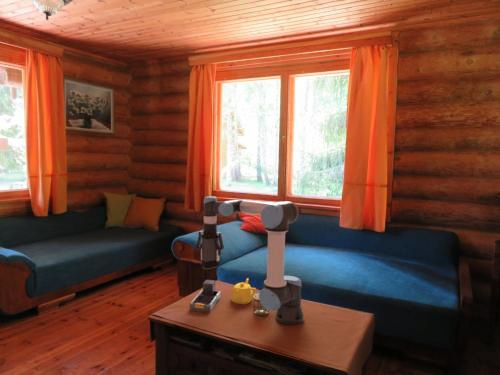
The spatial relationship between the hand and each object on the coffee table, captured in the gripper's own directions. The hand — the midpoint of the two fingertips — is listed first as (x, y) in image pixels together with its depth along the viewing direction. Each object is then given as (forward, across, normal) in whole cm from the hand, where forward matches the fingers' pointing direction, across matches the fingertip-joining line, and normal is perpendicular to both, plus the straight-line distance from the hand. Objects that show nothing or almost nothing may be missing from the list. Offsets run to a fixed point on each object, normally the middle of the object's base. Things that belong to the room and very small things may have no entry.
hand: (210, 259), depth 218 cm
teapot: (+26, -20, -6) cm, 33 cm away
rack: (+25, +1, +5) cm, 26 cm away
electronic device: (+5, 0, 0) cm, 5 cm away
